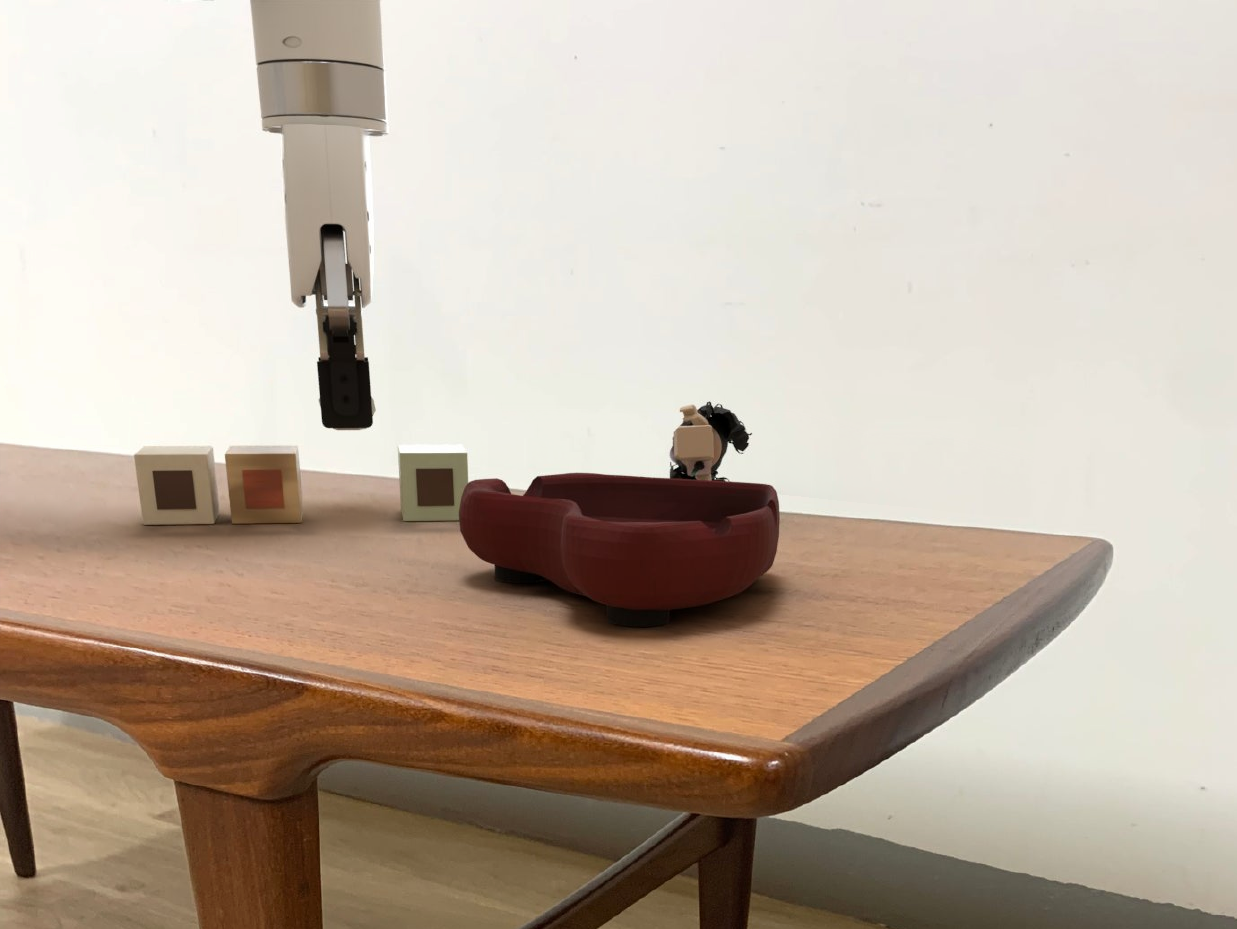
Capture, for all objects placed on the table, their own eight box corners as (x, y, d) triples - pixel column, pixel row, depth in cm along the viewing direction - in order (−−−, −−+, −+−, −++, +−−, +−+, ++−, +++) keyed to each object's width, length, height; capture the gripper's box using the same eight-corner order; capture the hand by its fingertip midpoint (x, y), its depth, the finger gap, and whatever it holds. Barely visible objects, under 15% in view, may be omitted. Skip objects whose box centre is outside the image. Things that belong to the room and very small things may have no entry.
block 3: (403, 521, 89) (399, 453, 87) (401, 510, 93) (397, 444, 91) (469, 520, 89) (467, 452, 88) (464, 509, 93) (462, 444, 92)
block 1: (142, 525, 85) (133, 454, 84) (152, 514, 89) (143, 446, 88) (214, 524, 86) (206, 454, 85) (220, 513, 90) (212, 445, 89)
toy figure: (664, 522, 91) (672, 491, 105) (756, 517, 91) (752, 487, 104) (658, 412, 88) (667, 395, 102) (753, 406, 88) (749, 390, 102)
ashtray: (879, 603, 69) (888, 504, 67) (615, 644, 60) (616, 531, 58) (677, 547, 82) (679, 462, 80) (437, 573, 73) (432, 480, 71)
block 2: (231, 524, 87) (224, 453, 85) (237, 513, 91) (230, 445, 89) (301, 523, 87) (295, 453, 86) (303, 512, 91) (298, 445, 90)
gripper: (267, 117, 87) (294, 412, 94) (250, 86, 72) (283, 439, 80) (384, 121, 88) (401, 411, 96) (390, 91, 74) (410, 438, 81)
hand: (347, 421), depth 88 cm, fingers closed on game die, 3 cm apart
